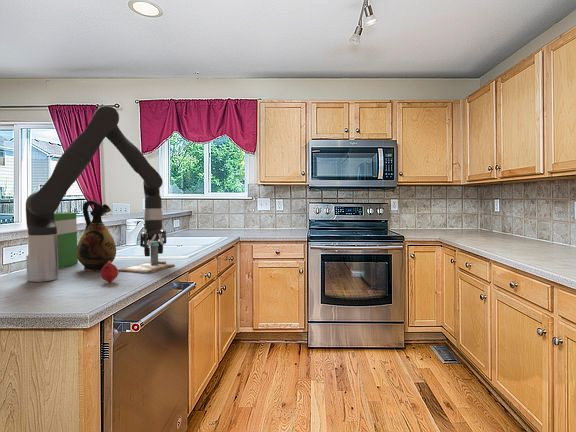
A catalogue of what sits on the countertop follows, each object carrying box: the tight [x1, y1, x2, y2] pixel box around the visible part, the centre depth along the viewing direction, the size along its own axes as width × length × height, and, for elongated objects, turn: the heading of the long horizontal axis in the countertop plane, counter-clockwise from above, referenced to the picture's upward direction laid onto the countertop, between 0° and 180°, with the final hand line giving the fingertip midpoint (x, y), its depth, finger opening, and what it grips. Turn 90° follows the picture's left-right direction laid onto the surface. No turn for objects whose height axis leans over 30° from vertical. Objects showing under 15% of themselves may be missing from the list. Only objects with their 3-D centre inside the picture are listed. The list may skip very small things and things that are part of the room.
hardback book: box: [54, 212, 79, 270], centre depth 172 cm, size 18×7×24 cm, turn 178°
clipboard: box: [117, 260, 176, 274], centre depth 167 cm, size 18×15×2 cm
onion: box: [100, 261, 119, 284], centre depth 140 cm, size 6×6×8 cm
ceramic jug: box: [77, 199, 117, 272], centre depth 165 cm, size 17×15×30 cm
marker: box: [149, 242, 159, 265], centre depth 171 cm, size 3×3×10 cm
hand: (153, 254), depth 171 cm, fingers open, 8 cm apart
